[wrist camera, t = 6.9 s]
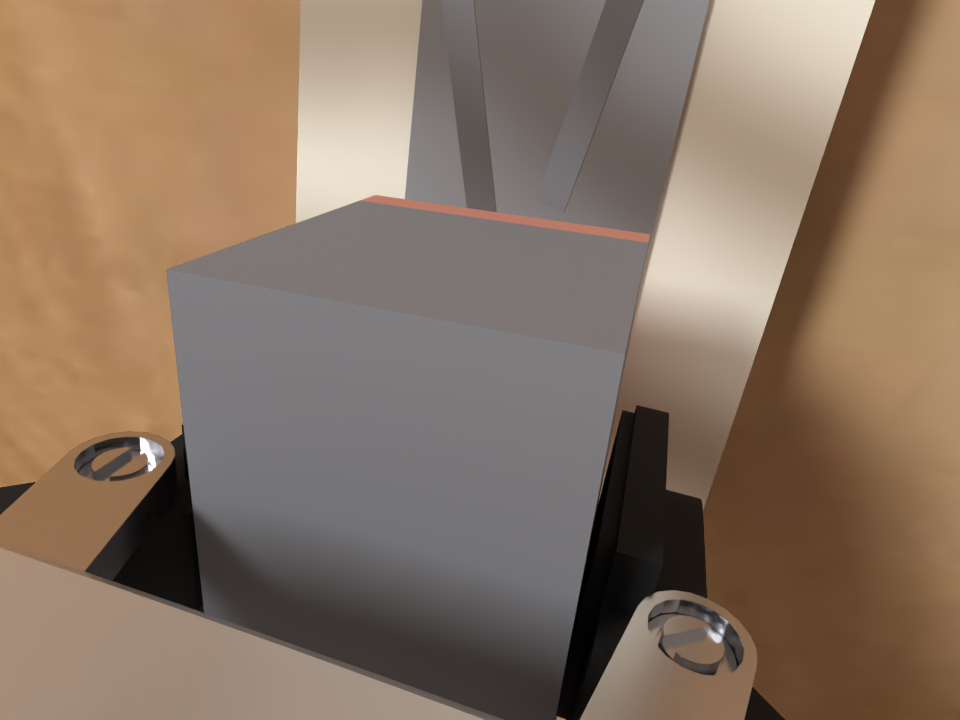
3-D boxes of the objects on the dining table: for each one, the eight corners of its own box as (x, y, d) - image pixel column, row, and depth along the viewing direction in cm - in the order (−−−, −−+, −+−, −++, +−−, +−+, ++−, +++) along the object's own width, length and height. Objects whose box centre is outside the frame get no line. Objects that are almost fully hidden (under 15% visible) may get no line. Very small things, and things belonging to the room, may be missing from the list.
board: (648, 641, 18) (646, 679, 17) (309, 538, 20) (286, 567, 18) (1225, -1119, 7) (1337, -1361, 6) (367, -985, 9) (321, -1147, 8)
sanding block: (574, 628, 13) (519, 903, 9) (367, 571, 14) (224, 792, 10) (650, 234, 10) (625, 354, 6) (375, 194, 11) (165, 269, 7)
